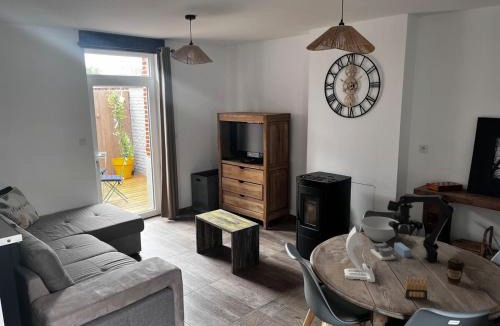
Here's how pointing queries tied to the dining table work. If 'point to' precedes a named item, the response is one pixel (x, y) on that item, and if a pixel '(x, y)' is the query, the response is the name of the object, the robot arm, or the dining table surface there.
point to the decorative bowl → (378, 228)
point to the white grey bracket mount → (382, 251)
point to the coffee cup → (454, 270)
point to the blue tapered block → (402, 250)
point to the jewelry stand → (357, 273)
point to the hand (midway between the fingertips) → (403, 236)
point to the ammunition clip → (416, 289)
